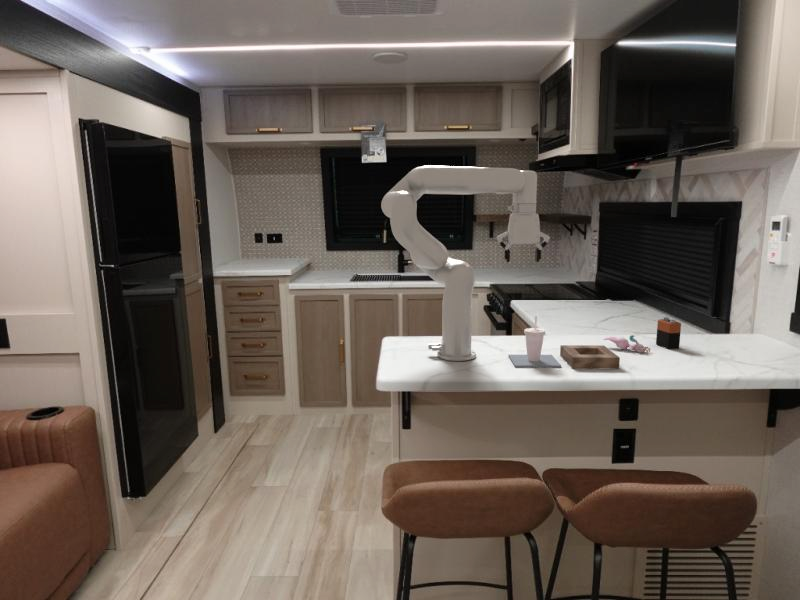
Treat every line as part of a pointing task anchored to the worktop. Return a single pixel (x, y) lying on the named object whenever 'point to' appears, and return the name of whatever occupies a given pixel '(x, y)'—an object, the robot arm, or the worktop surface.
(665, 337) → the battery
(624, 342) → the rabbit figure
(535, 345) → the smoothie
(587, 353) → the walnut frame
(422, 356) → the worktop surface
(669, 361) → the worktop surface
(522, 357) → the slate mat
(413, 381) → the worktop surface
